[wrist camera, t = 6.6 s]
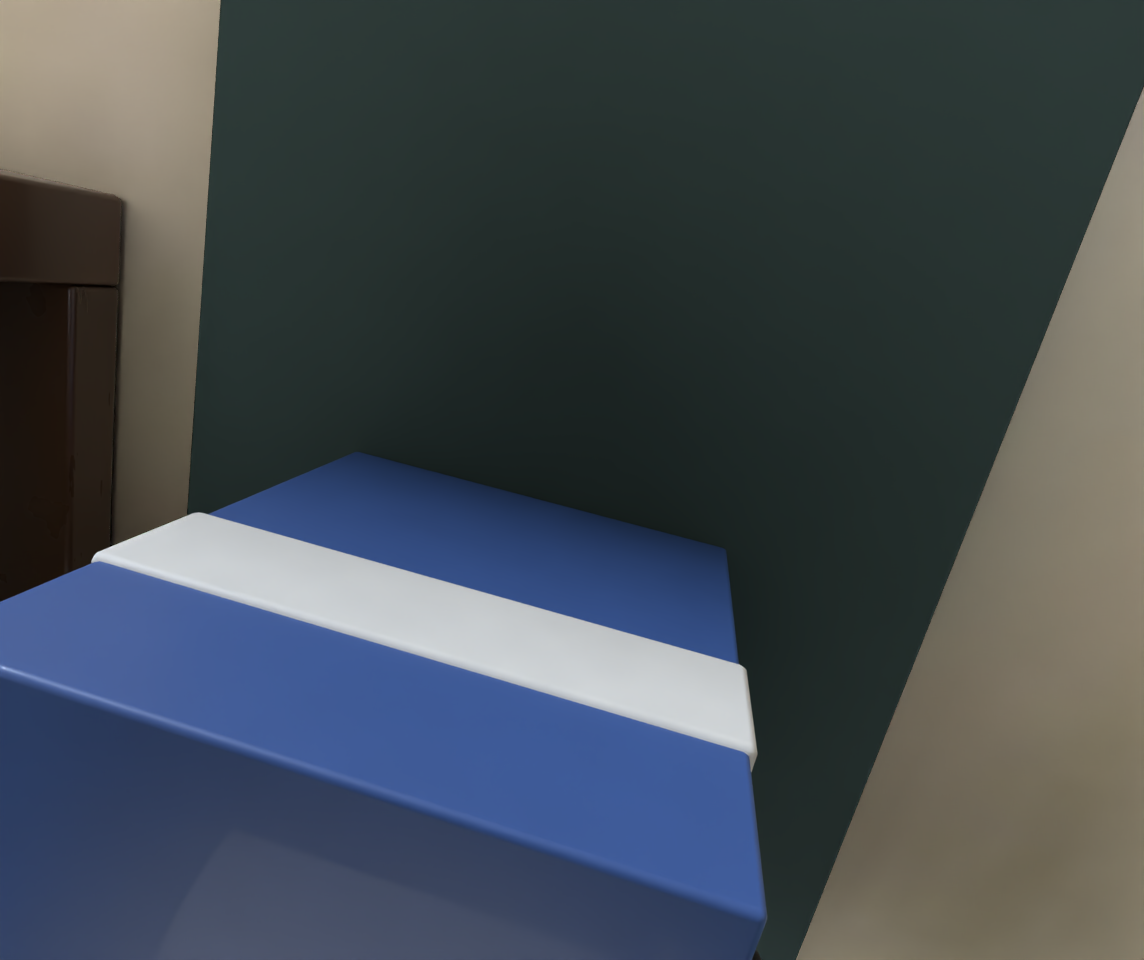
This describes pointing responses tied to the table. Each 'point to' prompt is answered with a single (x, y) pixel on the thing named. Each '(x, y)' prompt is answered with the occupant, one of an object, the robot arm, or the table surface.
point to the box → (380, 736)
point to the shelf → (55, 376)
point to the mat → (669, 296)
